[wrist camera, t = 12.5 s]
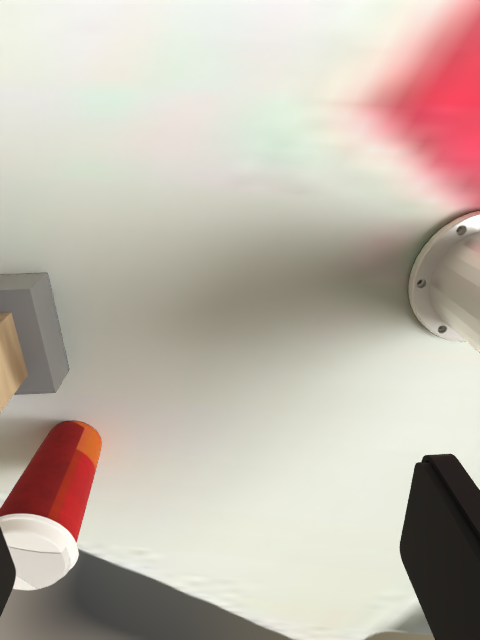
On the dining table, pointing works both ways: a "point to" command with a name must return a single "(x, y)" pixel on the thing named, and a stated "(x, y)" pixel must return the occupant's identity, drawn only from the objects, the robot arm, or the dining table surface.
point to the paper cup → (50, 505)
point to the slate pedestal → (35, 330)
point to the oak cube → (10, 360)
